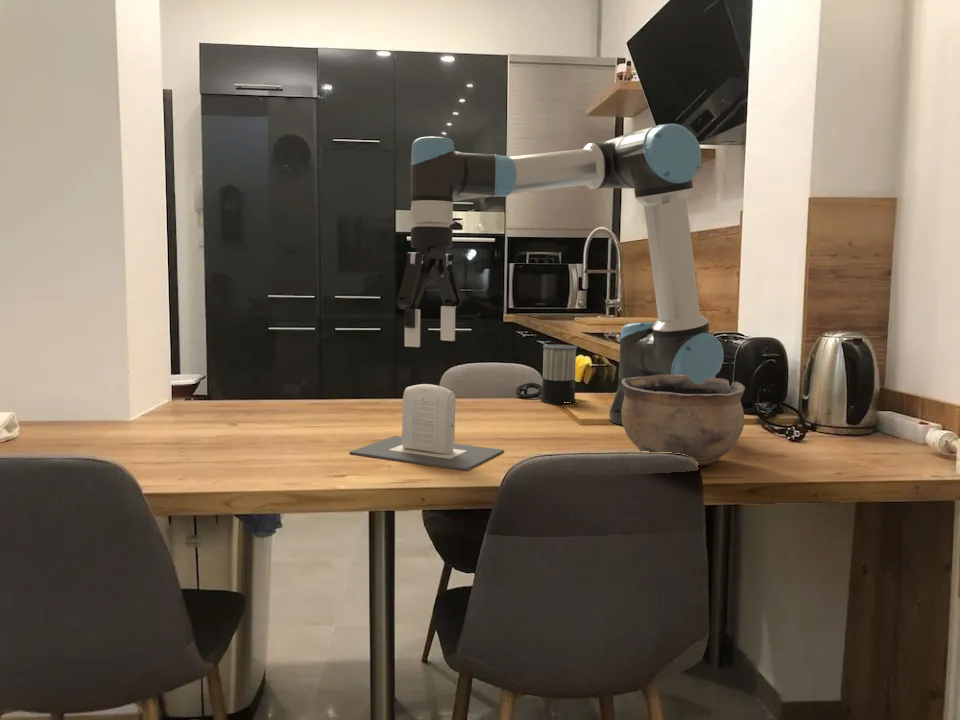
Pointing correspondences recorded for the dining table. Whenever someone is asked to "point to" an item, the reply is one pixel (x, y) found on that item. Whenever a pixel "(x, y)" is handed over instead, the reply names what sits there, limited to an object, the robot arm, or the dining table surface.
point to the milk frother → (555, 376)
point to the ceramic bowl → (683, 415)
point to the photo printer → (428, 418)
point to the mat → (429, 454)
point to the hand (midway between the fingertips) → (430, 343)
